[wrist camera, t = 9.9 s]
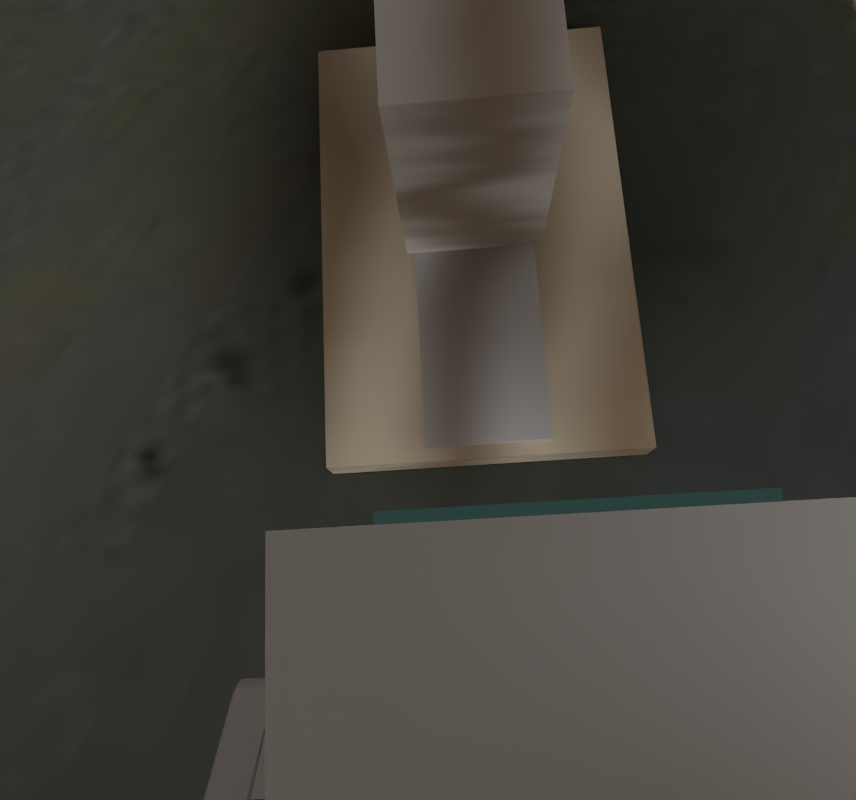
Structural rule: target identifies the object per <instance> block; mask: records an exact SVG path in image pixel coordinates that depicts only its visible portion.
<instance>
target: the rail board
mask: <svg viewBox="0 0 856 800" xmlns="http://www.w3.org/2000/svg"><path fill="white" fill-rule="evenodd" d="M374 14H375V38H376V46H374V47H363V48H351V49H340V50H329V51H318V73H319V123H320V174H321V225H322V275H323V326H324V376H325V427H326V468H327V469H328V470H330V471H331V472H332V473H333V474H338V473H354V472H370V471H386V470H402V469H418V468H434V467H450V466H466V465H482V464H498V463H514V462H530V461H546V460H562V459H578V458H594V457H610V456H626V455H642V454H648V453H649V452H650V451H652V450H653V449H655V448H656V441H655V433H654V426H653V418H652V411H651V403H650V396H649V388H648V381H647V373H646V366H645V358H644V351H643V343H642V336H641V328H640V321H639V313H638V306H637V298H636V291H635V283H634V276H633V268H632V261H631V253H630V246H629V238H628V231H627V223H626V216H625V208H624V201H623V193H622V186H621V178H620V171H619V164H618V156H617V149H616V141H615V134H614V126H613V119H612V111H611V104H610V96H609V89H608V81H607V74H606V66H605V59H604V51H603V44H602V36H601V29H600V27H591V28H579V29H568V30H567V24H566V16H565V7H564V0H374Z"/></svg>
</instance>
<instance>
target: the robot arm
mask: <svg viewBox="0 0 856 800" xmlns="http://www.w3.org/2000/svg"><path fill="white" fill-rule="evenodd" d="M204 800H265V678H249V679H241V680H240V682H239V683H238V685H237V687H236V688H235V690H234V692H233V696H232V699H231V703H230V706H229V710H228V714H227V717H226V721H225V725H224V728H223V732H222V735H221V739H220V743H219V746H218V750H217V754H216V757H215V761H214V764H213V768H212V772H211V775H210V779H209V782H208V786H207V790H206V793H205V797H204Z"/></svg>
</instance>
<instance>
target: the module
mask: <svg viewBox="0 0 856 800" xmlns="http://www.w3.org/2000/svg"><path fill="white" fill-rule="evenodd" d="M373 519H374V525H364V526H347V527H329V528H312V529H295V530H277V531H266V567H265V800H856V497H850V498H832V499H815V500H798V501H783V496H782V490H781V488H769V489H752V490H735V491H718V492H701V493H683V494H666V495H649V496H632V497H615V498H598V499H581V500H564V501H547V502H530V503H512V504H495V505H478V506H461V507H444V508H427V509H410V510H393V511H376V512H373Z"/></svg>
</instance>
